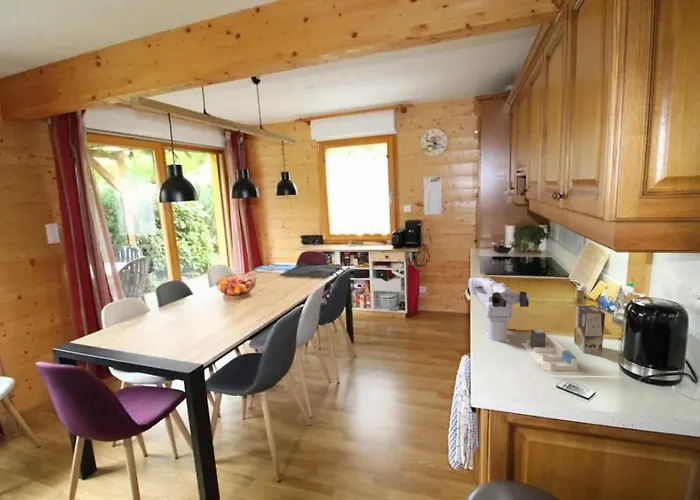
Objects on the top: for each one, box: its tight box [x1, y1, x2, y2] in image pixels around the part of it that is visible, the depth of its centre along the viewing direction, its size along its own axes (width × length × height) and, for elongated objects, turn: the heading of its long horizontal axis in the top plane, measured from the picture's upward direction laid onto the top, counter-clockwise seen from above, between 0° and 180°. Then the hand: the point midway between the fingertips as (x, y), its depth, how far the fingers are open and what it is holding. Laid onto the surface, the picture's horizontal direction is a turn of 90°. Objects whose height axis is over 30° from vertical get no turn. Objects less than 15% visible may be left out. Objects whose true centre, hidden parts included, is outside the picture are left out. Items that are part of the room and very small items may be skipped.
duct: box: [521, 334, 579, 371], centre depth 132 cm, size 21×11×4 cm, turn 175°
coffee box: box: [573, 305, 606, 355], centre depth 135 cm, size 9×6×16 cm
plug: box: [530, 328, 547, 349], centre depth 138 cm, size 4×4×7 cm
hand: (516, 304), depth 126 cm, fingers open, 7 cm apart
